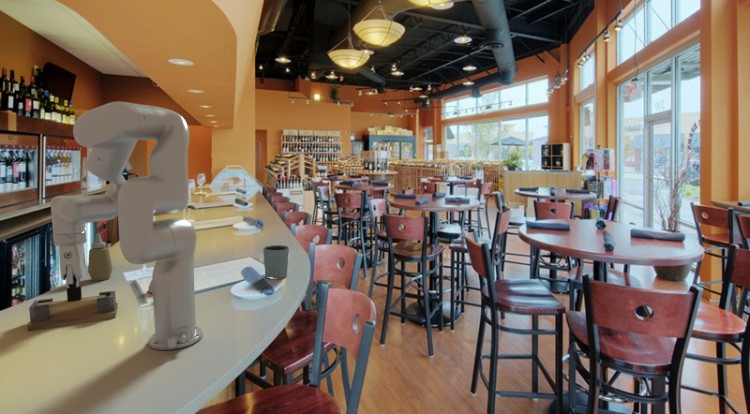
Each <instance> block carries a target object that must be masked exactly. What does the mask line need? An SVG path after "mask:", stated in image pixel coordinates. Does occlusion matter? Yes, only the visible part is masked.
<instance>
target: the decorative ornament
mask: <svg viewBox="0 0 750 414" xmlns="http://www.w3.org/2000/svg"><path fill="white" fill-rule="evenodd" d="M148 290H149V291H151V292H152V293H153V286H152V280H151V281H150V282H149V285H148V289H147V291H148ZM149 291H148V292H149ZM151 292H150V293H151ZM152 293H151V294H152Z"/></svg>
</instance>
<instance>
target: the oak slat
mask: <svg viewBox="0 0 750 414" xmlns="http://www.w3.org/2000/svg"><path fill="white" fill-rule="evenodd" d="M100 297H106V295H100V296H99V295H93V296H85V297H82V298H81V300H78V301H70V302H68V301H67V299H65V300H64V299H61V300H56V301H54V300H53V302H46V303H38V305H46V304H49V316H50V319H51V318H58V317H65V316H72V315H79V314H85V313H92V312H98V304H97V298H100ZM38 305H37V306H38Z"/></svg>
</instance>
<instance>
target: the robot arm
mask: <svg viewBox="0 0 750 414" xmlns="http://www.w3.org/2000/svg"><path fill="white" fill-rule="evenodd" d="M72 135H73V138H74V140H75V142H76V143H77V144H78V145H80V146H81V147H84V148H88V149H89V148H90V149H91V150H90V152H89V154H88V157H87V158H86V161H85V167H86V169H87V171H88V172H89V173H91V174H92V175H93V176H95V177H97V178H99V179H102V180H104V181H107V182H109V185H108V187H107V189H106V191H105V193H104V194H95V195H93V194H92V195H83V196H80V195H57V196H54V197H52V198H51V200H50V212H51V223H52V225H51V226H52V236H53V245H54V246H55V247H58V257H59V258H58V259H59V260H58V261H59V271H60V277H61V280H63V281H65V280H66V281H65V283H66V298H67V299H66V300H67V301H68V302H70V301H78V300H81V298H83V297H82V296H83V295H82V285H81V279H83V277H84V276H85V274H86V273H87V263H86V254H85V247H84V244H86V243H87V242H88V241H87V231H86V230H87V228H86V227H87V226H86V224H89V223H96V222H102V221H103V222H105V221H111V220H113V219H115V218H116V217H117V221H118V222H117V223H118V240H119V247H120V251H121V254H122V255H123V257H124V259H125V260H126V261H127V262H129V263H130V264H133V265H144V264H149V263H153V262H155V263H154V266H153V269H152V275H151V276H152V277H151V278H152V279H151V281H152V286H153V294H152V298H153V299H152V300H153V301H152V302H153V303H152V304H153V318H154V319H153V320H154V333H153V334H152V335H151V336H150V337H149V338H148V346H149V347H150V348H152V349H153V350H160V351H168V350H169V351H170V350H177V349H182V348H185V347H188V346H191V345H193V344H195V343H197V342H198V341H200V340H201V339H202V338H203V335H204V331H203V329H202V328H201V327H198V326H197V321H196V297H195V296H196V295H195V267H194V265H195V264H194V263H195V252H196V246H197V231H196V228H195V226H194V224H192V223H191V222H190V221H188V220H186V219H184V218H178V217H177V218H176V217H175V218H174V217H172V218H165V219H159V220H158V219H157V220H154V217H156V216H157V217H158V216H164V215H172V214H177V213H179V212H180V213H181V212H183V210H185V209H186V208H187V207H188V205H189V195H190V194H189V193H190V192H189V190H190V189H189V167H188V156H189V146H190V129H189V126H188V124H187V121H186V120H185V119H184V117H183V116H182V115H181V114H179V113H178V112H176V111H174V110H171V109H169V108H165V107H160V106H155V105H148V104H142V103H141V104H139V103H133V102H126V101H112V102H108V103H105V104H103V105H100V106H97V107H94V108H92V109H90V110H87V111H86V112H84V113H82V114H81V115H79V116H78V117H77V119H76V120H75V122H74V124H73V128H72ZM138 141H155V142H156V143H155V145H154V147H153V148H152V150H151V152H150V155H149V158H148V166H149V171H148V173H149V174H148V175H145V176H134V177H131V178H128V179H127V180H126V179H125V177H124V175H123V172H124V170H125V168H126V166H127V164H128V162H129V159H130V158H131V155H132V153H133V151H134V148H135V147H136V145H137V142H138Z"/></svg>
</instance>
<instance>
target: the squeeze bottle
mask: <svg viewBox="0 0 750 414" xmlns="http://www.w3.org/2000/svg"><path fill="white" fill-rule="evenodd" d="M106 245H107V242H104V241H103V239H102V237H101V233H96V234H95V239H94V242H93V243H91V249H90V248H89V250H88V265H87V272H88V274H89V277H90V279H91V280H92V281H94V282H96V281H97V282H99V281H105V280H108V279H110V278H111V276H112V275H111V274H112V272H113V269H114V268H113V264H112V260H111V252H110V248H108V247H107V246H106Z"/></svg>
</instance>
